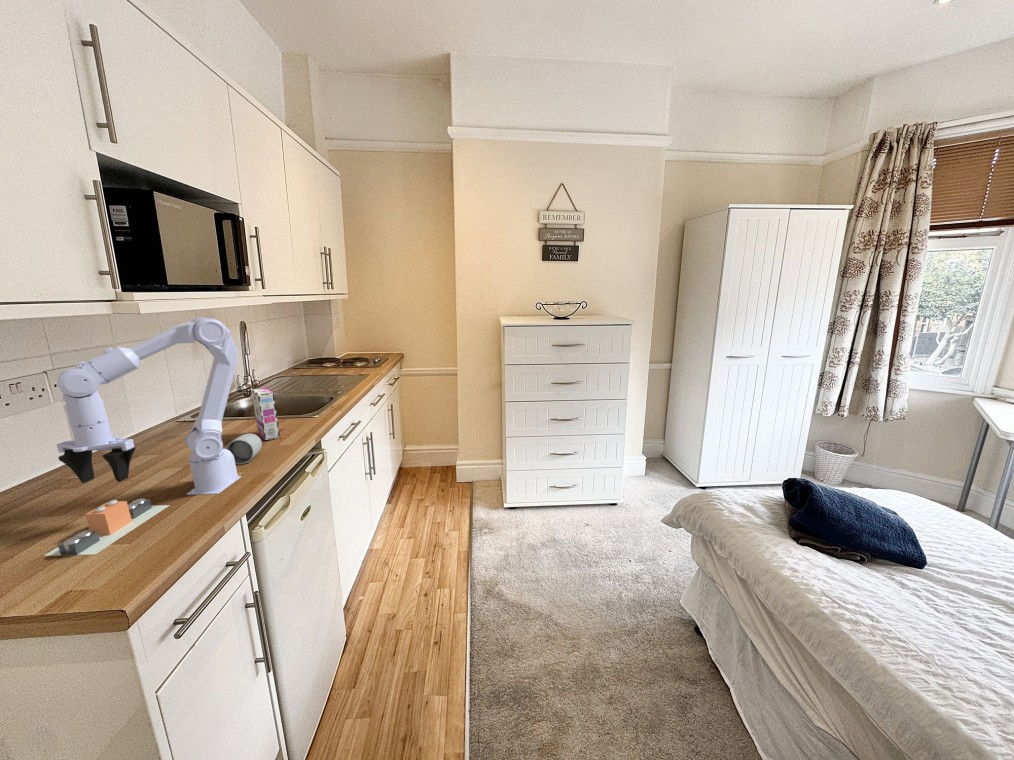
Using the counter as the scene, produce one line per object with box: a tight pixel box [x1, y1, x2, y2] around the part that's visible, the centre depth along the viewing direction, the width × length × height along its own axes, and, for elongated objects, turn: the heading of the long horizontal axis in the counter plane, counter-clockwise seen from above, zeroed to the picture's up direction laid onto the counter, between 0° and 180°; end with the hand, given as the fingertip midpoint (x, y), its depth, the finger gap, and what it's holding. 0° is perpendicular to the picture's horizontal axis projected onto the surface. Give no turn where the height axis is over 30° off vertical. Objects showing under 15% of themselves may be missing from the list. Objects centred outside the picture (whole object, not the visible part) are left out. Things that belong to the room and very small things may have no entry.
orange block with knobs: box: [85, 499, 132, 535], centre depth 86 cm, size 5×4×6 cm
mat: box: [43, 504, 170, 557], centre depth 87 cm, size 18×10×1 cm, turn 0°
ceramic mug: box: [225, 433, 263, 465], centre depth 121 cm, size 11×8×8 cm
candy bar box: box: [251, 387, 281, 441], centre depth 140 cm, size 11×5×16 cm, turn 42°
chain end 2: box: [127, 497, 153, 519], centre depth 92 cm, size 5×3×2 cm
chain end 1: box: [57, 529, 100, 556], centre depth 80 cm, size 5×3×2 cm
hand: (105, 480), depth 89 cm, fingers open, 7 cm apart
